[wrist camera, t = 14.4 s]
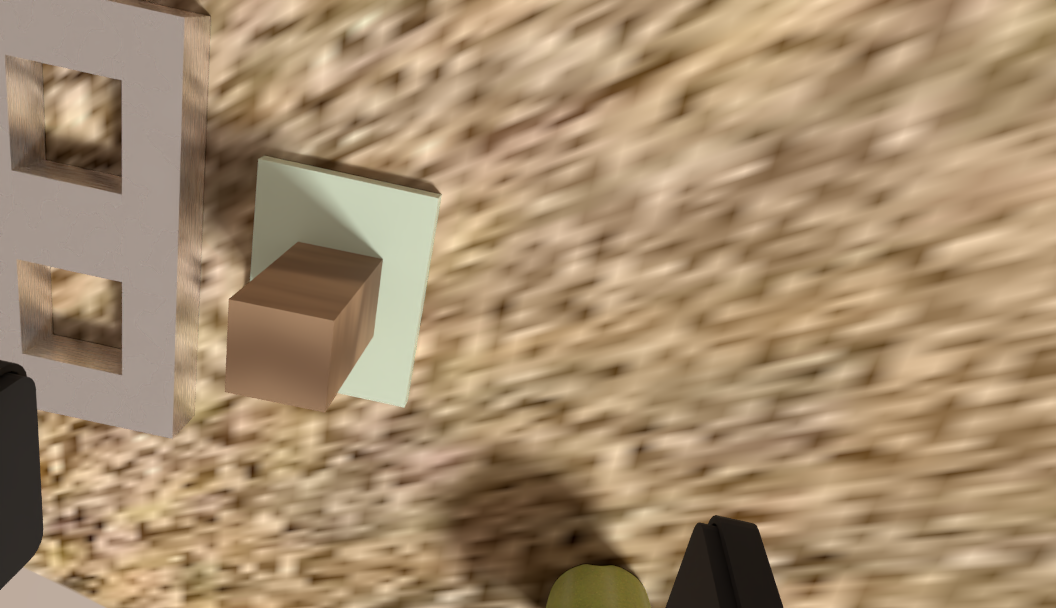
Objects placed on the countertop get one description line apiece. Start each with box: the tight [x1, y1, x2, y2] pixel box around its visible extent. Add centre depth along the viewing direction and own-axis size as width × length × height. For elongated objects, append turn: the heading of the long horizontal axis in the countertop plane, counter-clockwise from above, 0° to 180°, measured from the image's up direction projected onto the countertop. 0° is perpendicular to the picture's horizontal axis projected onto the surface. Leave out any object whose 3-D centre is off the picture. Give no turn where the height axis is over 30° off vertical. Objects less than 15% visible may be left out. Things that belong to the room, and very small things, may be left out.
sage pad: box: [250, 156, 442, 407], centre depth 40 cm, size 12×9×1 cm
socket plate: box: [0, 0, 211, 439], centre depth 39 cm, size 22×11×2 cm, turn 168°
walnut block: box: [225, 242, 383, 412], centre depth 36 cm, size 4×4×8 cm
